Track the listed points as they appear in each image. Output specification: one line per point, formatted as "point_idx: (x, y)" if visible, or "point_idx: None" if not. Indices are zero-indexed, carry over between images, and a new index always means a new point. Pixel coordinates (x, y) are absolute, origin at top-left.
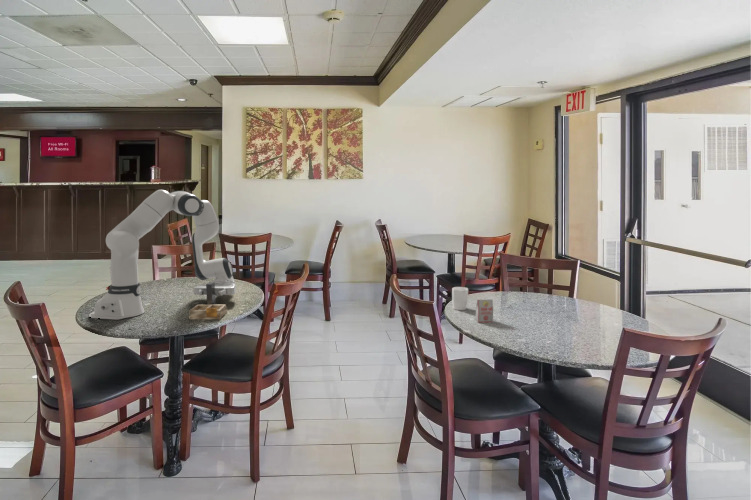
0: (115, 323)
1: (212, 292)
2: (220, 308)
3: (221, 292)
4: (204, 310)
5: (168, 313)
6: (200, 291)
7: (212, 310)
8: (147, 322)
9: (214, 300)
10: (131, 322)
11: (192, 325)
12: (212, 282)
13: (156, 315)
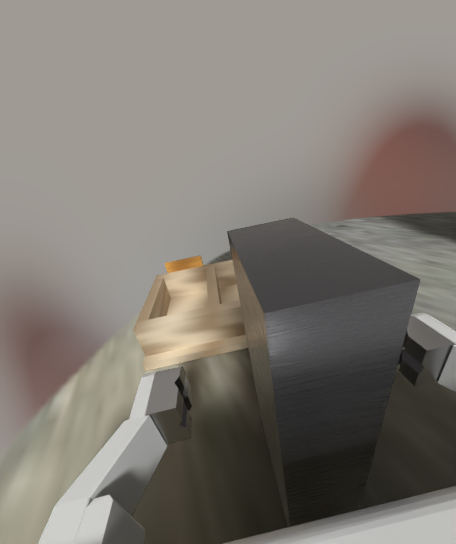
0: (429, 225)
1: (247, 336)
2: (156, 287)
3: (146, 374)
4: (210, 264)
5: None
6: (425, 325)
7: (181, 267)
8: (358, 243)
9: (275, 466)
10: (400, 234)
11: (225, 260)
12: (293, 279)
13: (426, 270)
